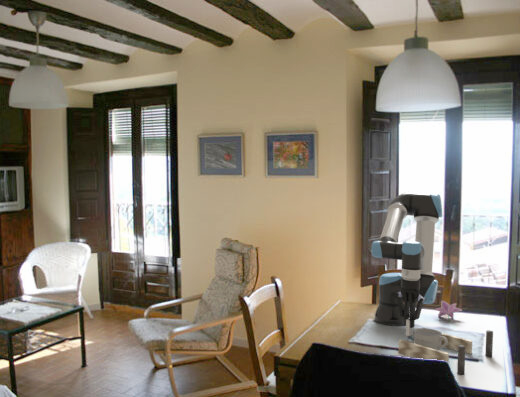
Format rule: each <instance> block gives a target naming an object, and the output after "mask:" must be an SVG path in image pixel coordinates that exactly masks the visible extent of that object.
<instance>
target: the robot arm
mask: <svg viewBox="0 0 520 397" xmlns="http://www.w3.org/2000/svg"><path fill="white" fill-rule="evenodd" d="M386 212H387V217H386V220H385V223H384V225H383V228H382V232H381V235H380V236H379V240H374V241H373V242H372V243H371V250H370V251H371V256H372V257H373V258H377V259H378V258H379V259H387V260H399V261H401V272H388V273H383V274H382V275H380V277H379V282H378V305H377V308H376V311H375V313H374V321H375V322H376V323H378V324H382V325H386V326H404V327H405V336H408V337H410V336H413V330H414V329H415V321H416V320H419V318H420V316H421V313H422V309H423V305H433V304H434V303H435V300H436V297H437V293H438V286H439V281H438V279H436V276H435V275H434V273H433V262H434V260H433V259H434V245H435V244H434V243H435V231H436V228H435V227H436V224H437V222H439V220H440V218H441V217H443V206H442V199H441V195H440V194H439V193H437V192H436V193H434V192H413V191H412V192H409V191H408V192H404V193H401V194H398V195H397V196H396V197H395V198H394V199H393V200H391V201H390V203H389V205H388V207H387V211H386ZM407 216H413V220H414V221H415V222H416V226H415V227H416V228H415V239H414V240H415V241H413V240H407V241H403V242H398V239H399V235H400V233H401V228H402V225H403V222H404V220H405V218H406V217H407Z"/></svg>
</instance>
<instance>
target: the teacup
mask: <svg viewBox="0 0 520 397" xmlns="http://www.w3.org/2000/svg"><path fill="white" fill-rule="evenodd" d="M413 332H414V335H413V343H415V344H418V345H422V346H425V347H429V348H432V349H436V350H439V351H441V350H442V349H443V348H446V347H445V346H447V344H448V340H447V338H446V337H444V336H442V333H443V332H441V330H440V331H439V330H437V329H433V328H425V327H424V328H423V327H420V328H418V327H417V328H414V329H413ZM442 339H444V341H445V343H444V345H441V340H442Z"/></svg>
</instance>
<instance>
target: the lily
mask: <svg viewBox="0 0 520 397" xmlns="http://www.w3.org/2000/svg"><path fill="white" fill-rule="evenodd" d="M457 304H458V303H456V302H455V303H452V304H449V303H448V302H446V301H445V300H440V307H436V308H434V310H435V311H438V315H437V316H438V317H439V318H440V317H443V316H446V315H447V317H448V321H449V323H450V322H451V320H450V318H452V319H454V313H458V312H462V311H463V309H461V308H459V307H456V306H457Z"/></svg>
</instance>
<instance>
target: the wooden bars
mask: <svg viewBox="0 0 520 397" xmlns="http://www.w3.org/2000/svg"><path fill="white" fill-rule="evenodd" d="M441 333H442V336H444V337H446V338H447V340H448V344H447V346H445V347H444V348H448V349H451V350H455V351H457V370H456V371H457V372H456V373H457V375H460V376H464V375H465V374H466V373H465V370H466V354H469V355H470V354H473V340H470V339H466V338H463V337H458V336H455V335H451V334H448V333H443V332H441ZM485 335H486V336H485V337H486V338H485V354H484V355H485V356H484V357H486V358H492V357H493V348H494V346H493V344H494V343H493V342H494V339H493V338H494V331H493V330H488V329H487V330H486V331H485ZM444 343H445V341H444V339H442V340H441V345H444ZM397 348H398V354H400V355H401V354H402V355H405V356H408V357H411V358H413V359H414V358H415V359H417V358H423V359H437V360H444V361H447V362H449V360H450V358H449V357H450V353H449V352H446V351H442V350H436V349H432V348H429V347H425V346H422V345H418V344H415V343H414V342H411V341H406V340H403V339H398V347H397ZM449 363H450V362H449Z"/></svg>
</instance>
